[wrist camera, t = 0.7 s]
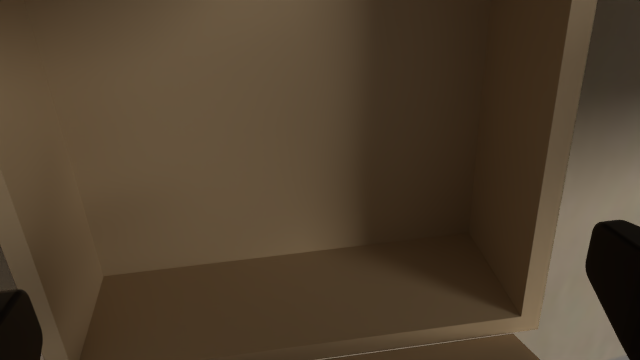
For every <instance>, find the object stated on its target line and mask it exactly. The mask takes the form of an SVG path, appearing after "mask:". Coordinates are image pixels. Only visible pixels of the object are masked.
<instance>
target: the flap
mask: <svg viewBox="0 0 640 360" xmlns="http://www.w3.org/2000/svg"><path fill="white" fill-rule="evenodd" d="M325 360H540V359H539V358H538V357H537V356H536V355H535V354H533V353H532V352H531V351H530V350H529V349H528V348H527V347H526V346H525V345H524V344H523V343H522V342H521V341H520V340H519V339H518V338H517V337H516V336H515V335H514V334H508V335H500V336H493V337H486V338H478V339H471V340H464V341H456V342H449V343H442V344H435V345H427V346H420V347H413V348H405V349H398V350H391V351H383V352H376V353H369V354H361V355H354V356H347V357H339V358H332V359H325Z"/></svg>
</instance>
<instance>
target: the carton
mask: <svg viewBox="0 0 640 360" xmlns="http://www.w3.org/2000/svg"><path fill="white" fill-rule="evenodd" d="M596 6H597V0H0V245H1V248H2V251H3V253H4V256H5V258H6V261H7V264H8V266H9V269H10V271H11V274H12V277H13V279H14V282H15V284H16V287H17V289H22V290H24V291H26V292H27V294H28V295H29V297H30V300H31V302H32V305H33V308H34V310H35V313H36V316H37V318H38V321H39V324H40V326H41V329H42V334H43V345H42V351H41V352H42V355H43V357H44V360H315V359H322V358H330V357H337V356H344V355H352V354H359V353H366V352H374V351H381V350H388V349H396V348H403V347H410V346H418V345H425V344H432V343H440V342H447V341H454V340H462V339H469V338H476V337H484V336H491V335H498V334H506V333H513V332H520V331H528V330H535V329H538V326H539V320H540V315H541V309H542V304H543V298H544V293H545V287H546V281H547V276H548V270H549V265H550V259H551V254H552V248H553V243H554V237H555V232H556V226H557V221H558V215H559V210H560V204H561V199H562V193H563V188H564V182H565V177H566V171H567V166H568V160H569V155H570V149H571V144H572V138H573V133H574V127H575V122H576V116H577V111H578V105H579V100H580V94H581V89H582V83H583V78H584V72H585V67H586V61H587V55H588V50H589V44H590V39H591V33H592V28H593V22H594V17H595V11H596Z"/></svg>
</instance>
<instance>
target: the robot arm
mask: <svg viewBox="0 0 640 360" xmlns="http://www.w3.org/2000/svg"><path fill="white" fill-rule="evenodd" d="M586 273H587V276H588V278H589V281H590V283H591V285H592V287H593V289H594V291H595V293H596V295H597V297H598V299H599V301H600V303H601V305H602V307H603V309H604V311H605V313H606V315H607V317H608V319H609V321H610V323H611V325H612V327H613V329H614V331H615V333H616V335H617V337H618V339H619V341H620V343H621V345H622V347H623V348H624V350H625V352H626V354H627V356H628V358H629V359H630V360H640V227H639V226H637V225H634V224H632V223H629V222H627V221H624V220H612V221H604V222H599V223H597V224H596V225H595V227H594V228H593V231H592V235H591V240H590V245H589V249H588V254H587V258H586ZM42 345H43V334H42V329H41V326H40V324H39V321H38V318H37V316H36V313H35V310H34V308H33V305H32V302H31V300H30V297H29V295H28V294H27V292H26V291H24V290H22V289H16V290H7V291H0V360H40V357H41V351H42Z"/></svg>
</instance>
